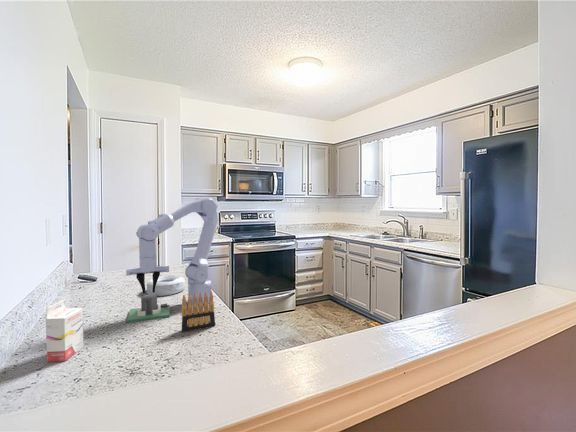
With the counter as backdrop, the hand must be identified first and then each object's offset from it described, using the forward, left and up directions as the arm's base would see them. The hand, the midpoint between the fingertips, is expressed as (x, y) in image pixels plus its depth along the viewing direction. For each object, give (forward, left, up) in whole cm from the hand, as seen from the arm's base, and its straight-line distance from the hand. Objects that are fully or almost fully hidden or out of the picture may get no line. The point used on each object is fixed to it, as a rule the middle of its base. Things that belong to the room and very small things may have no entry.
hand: (149, 292), depth 114 cm
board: (0, 0, -8) cm, 8 cm away
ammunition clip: (-16, +20, -9) cm, 27 cm away
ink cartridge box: (+20, +24, -9) cm, 32 cm away
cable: (-6, -31, -9) cm, 32 cm away
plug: (0, 0, -7) cm, 7 cm away
